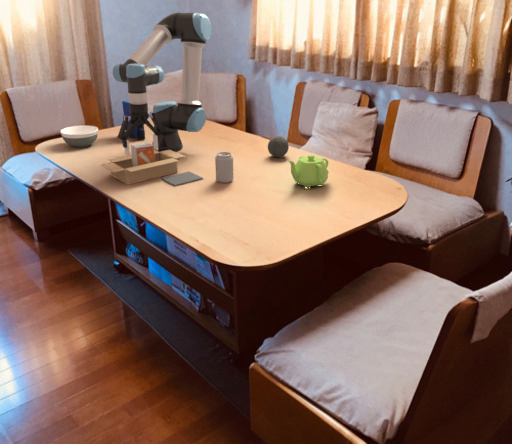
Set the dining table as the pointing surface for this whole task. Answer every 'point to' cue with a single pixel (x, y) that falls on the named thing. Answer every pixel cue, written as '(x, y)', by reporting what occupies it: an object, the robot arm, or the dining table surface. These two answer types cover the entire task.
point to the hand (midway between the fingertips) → (142, 152)
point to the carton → (143, 167)
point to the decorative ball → (278, 146)
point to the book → (138, 130)
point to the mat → (181, 178)
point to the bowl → (79, 135)
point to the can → (224, 167)
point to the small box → (142, 154)
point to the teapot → (310, 170)
